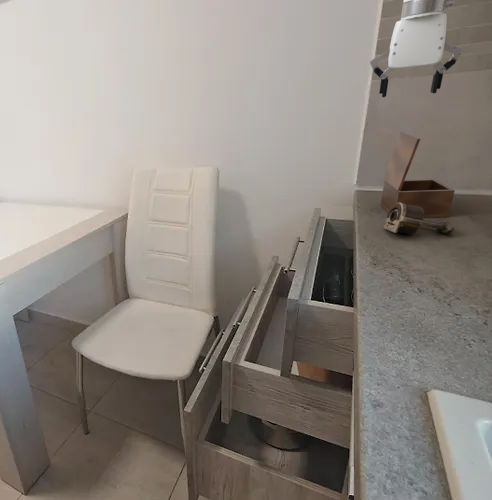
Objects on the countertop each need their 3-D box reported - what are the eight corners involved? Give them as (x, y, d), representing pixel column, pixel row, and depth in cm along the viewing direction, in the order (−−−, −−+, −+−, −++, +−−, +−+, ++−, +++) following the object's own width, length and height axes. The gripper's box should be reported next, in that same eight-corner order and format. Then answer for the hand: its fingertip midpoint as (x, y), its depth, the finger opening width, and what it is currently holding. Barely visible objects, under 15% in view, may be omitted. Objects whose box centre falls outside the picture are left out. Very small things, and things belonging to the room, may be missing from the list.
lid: (402, 132, 92) (400, 132, 92) (420, 138, 83) (417, 138, 83) (385, 180, 98) (383, 179, 98) (400, 190, 88) (397, 190, 89)
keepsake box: (428, 203, 98) (434, 179, 95) (448, 217, 88) (454, 190, 86) (380, 205, 101) (384, 181, 98) (394, 218, 91) (398, 192, 89)
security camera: (386, 200, 88) (383, 203, 80) (456, 199, 80) (460, 203, 73) (384, 230, 89) (381, 236, 81) (453, 232, 82) (456, 239, 74)
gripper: (469, 4, 79) (450, 90, 86) (375, 19, 87) (365, 97, 94) (478, -1, 73) (457, 92, 80) (376, 16, 81) (365, 99, 88)
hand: (407, 94), depth 87 cm, fingers open, 9 cm apart
